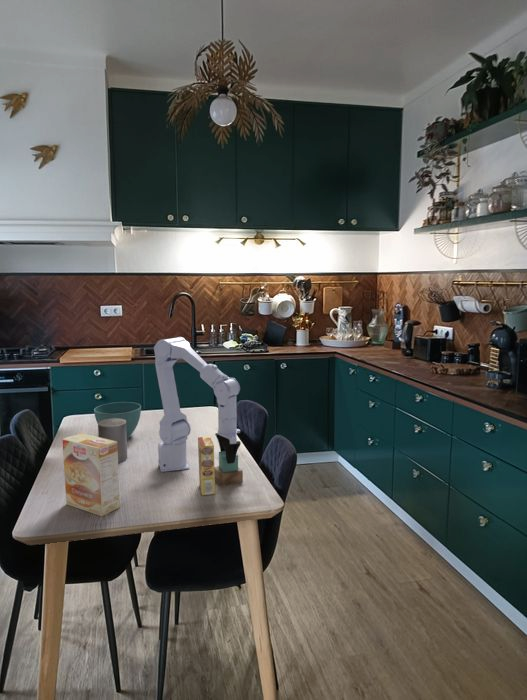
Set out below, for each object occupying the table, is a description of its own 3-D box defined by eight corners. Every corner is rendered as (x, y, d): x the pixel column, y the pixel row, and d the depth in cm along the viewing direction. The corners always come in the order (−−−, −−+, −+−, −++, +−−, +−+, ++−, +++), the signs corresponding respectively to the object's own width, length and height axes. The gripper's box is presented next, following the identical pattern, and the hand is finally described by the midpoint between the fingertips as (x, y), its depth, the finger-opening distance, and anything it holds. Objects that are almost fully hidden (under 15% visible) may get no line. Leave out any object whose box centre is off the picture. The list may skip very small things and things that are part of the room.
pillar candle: (94, 459, 182) (92, 418, 180) (118, 452, 189) (116, 413, 187) (108, 466, 176) (106, 424, 174) (133, 459, 183) (131, 418, 181)
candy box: (215, 494, 153) (214, 445, 151) (201, 496, 152) (200, 446, 150) (211, 483, 161) (211, 436, 159) (198, 484, 161) (197, 437, 158)
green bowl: (117, 447, 196) (116, 415, 194) (85, 439, 205) (84, 409, 203) (151, 434, 211) (150, 405, 209) (120, 427, 220) (119, 399, 219)
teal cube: (222, 472, 160) (222, 457, 160) (218, 466, 165) (218, 451, 164) (238, 470, 162) (238, 455, 161) (233, 464, 167) (233, 450, 166)
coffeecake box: (65, 504, 147) (61, 438, 144) (85, 495, 153) (82, 432, 150) (101, 517, 139) (97, 447, 136) (121, 507, 145) (118, 440, 142)
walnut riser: (222, 486, 159) (222, 474, 159) (213, 479, 165) (213, 467, 165) (242, 482, 162) (242, 470, 162) (233, 475, 169) (233, 463, 168)
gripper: (246, 422, 155) (246, 465, 157) (233, 410, 169) (234, 450, 171) (223, 424, 153) (223, 468, 155) (212, 412, 167) (213, 452, 169)
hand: (227, 458), depth 163 cm, fingers open, 7 cm apart
